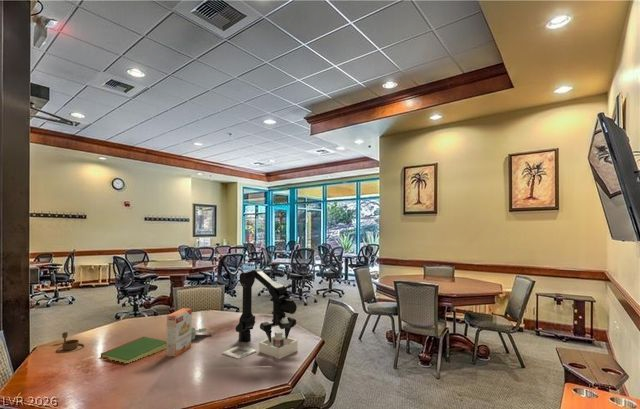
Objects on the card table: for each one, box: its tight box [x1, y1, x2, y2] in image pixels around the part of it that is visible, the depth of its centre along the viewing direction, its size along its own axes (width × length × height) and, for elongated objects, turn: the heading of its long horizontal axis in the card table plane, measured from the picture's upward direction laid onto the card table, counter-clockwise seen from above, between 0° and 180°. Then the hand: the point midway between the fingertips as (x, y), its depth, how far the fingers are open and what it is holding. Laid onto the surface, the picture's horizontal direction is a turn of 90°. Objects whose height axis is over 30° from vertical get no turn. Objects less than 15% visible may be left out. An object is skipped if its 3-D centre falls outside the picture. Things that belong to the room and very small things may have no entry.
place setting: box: [55, 331, 85, 354], centre depth 183 cm, size 18×20×6 cm
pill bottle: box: [272, 330, 284, 348], centre depth 177 cm, size 5×5×10 cm
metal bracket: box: [191, 327, 214, 340], centre depth 201 cm, size 14×6×15 cm
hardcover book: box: [100, 336, 166, 364], centre depth 175 cm, size 25×19×4 cm
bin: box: [258, 335, 298, 360], centre depth 177 cm, size 14×14×6 cm
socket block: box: [221, 344, 257, 360], centre depth 174 cm, size 12×12×2 cm
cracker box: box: [165, 307, 193, 358], centre depth 177 cm, size 14×6×21 cm, turn 169°
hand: (278, 340), depth 177 cm, fingers open, 9 cm apart
